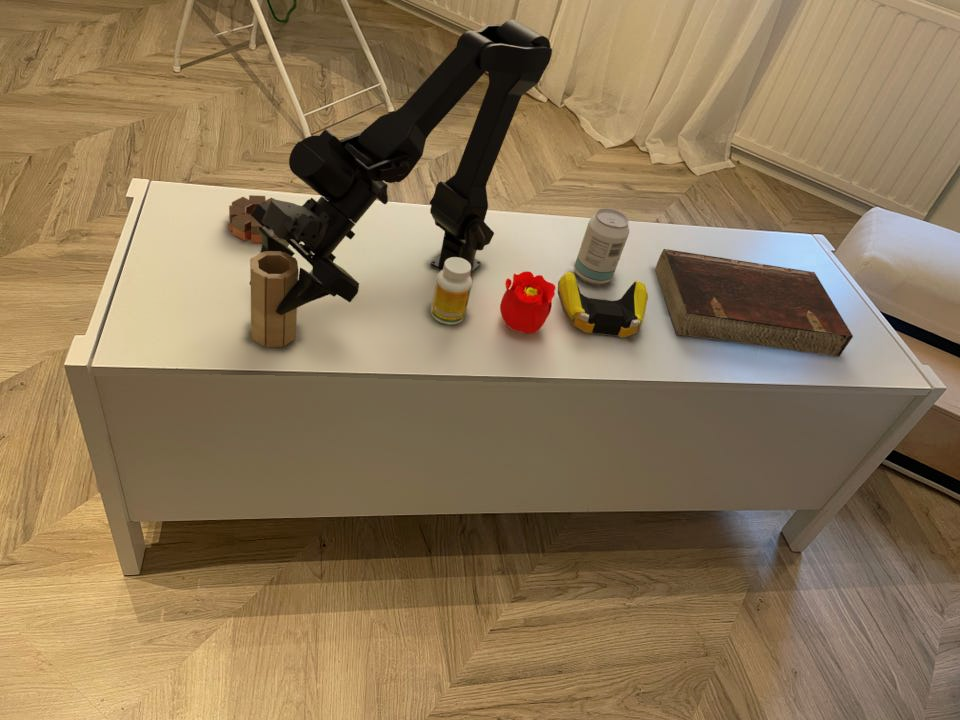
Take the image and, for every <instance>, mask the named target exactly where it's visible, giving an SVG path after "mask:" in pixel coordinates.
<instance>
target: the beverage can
mask: <svg viewBox="0 0 960 720" xmlns="http://www.w3.org/2000/svg"><path fill="white" fill-rule="evenodd" d="M629 223H630V222H629V218H628V217H627V216H626V215H625V214H624V213H623V212H621V211H619V210H616V209H613V208H600V209H598V210H597V211H596V212H595V214H594V215H592V216H591V217H590V218H589V220H588V223H587V226H586V229H585V232H584V235H583V238H582V240H581V244H580V247H579V251H578V252H577V257H576V259H575V263H574V265H573V269H574V272H575V273H576V275H577V276H578V277H579V278H580V279H581V280H582V281H583V282H585V283H587V284H591V285H596V286H597V285H601V284H606V283H609V282H611V281H612V280H613V277H614V275H615V273H616V270H617V267H618V264H619V261H620V259H621V257H622V253H623V252H624V248H625V246H626V243H627V240H628V238H629V235H630V226H629Z"/></svg>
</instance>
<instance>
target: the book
mask: <svg viewBox="0 0 960 720" xmlns="http://www.w3.org/2000/svg"><path fill="white" fill-rule="evenodd" d="M654 271H655V274H656V277H657V280H658V282H659V286H660V289H661V293H662V295H663V298H664V301H665V304H666V307H667V309H668V313H669V316H670V318H671V319H670V320H671V322H672V325H673V328H674V331H675V334H676V335H680V336H687V337H695V338H702V339H710V340H716V341H717V340H718V341H723V342H730V343H737V344H745V345H751V346H757V347H758V346H760V347H766V348H774V349H780V350H781V349H782V350H786V351H787V350H788V351H795V352H802V353H808V354H809V353H810V354H817V355H823V356H831V357H836V358H837V357H838V358H840V357H841V356H842V354H843V352H844V351H845V349H846V348H847V347H848V345H849V343H850V342H851V340H852V339H853V338H854V335H853V334H852V332H851V330H850V328H849V326H848V325H847V324H846V322H845V320H844V319H843V317H842V315H841V313H840V312H839V310H838V309H837V307H836V305H835V304H834V302H833V300H832V299H831V297H830V296H829V294H828V292H827V291H826V289H825V287H824V285H823V284H822V282H821V280H820V278H819V277H818V275H817V273H816V272H815V271H809V270H803V269H797V268H789V267H784V266H778V265H770V264H765V263H758V262H752V261H746V260H745V261H744V260H738V259H732V258H727V257H726V258H725V257H720V256H712V255H706V254H699V253H693V252H687V251H680V250H672V249H668V248H667V249H666V248H663V249H662V251H661V254H660V255H659V258H658V259H657V262H656V265H655V269H654Z"/></svg>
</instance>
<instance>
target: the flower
mask: <svg viewBox="0 0 960 720" xmlns="http://www.w3.org/2000/svg"><path fill="white" fill-rule="evenodd" d="M512 275H513V276H512V279H510V278H509V277H508V278H506V280H505V283H504V285H505V289H506V290H505V291H504V293H503V296H502V299H501V301H500V305H499V310H500V311H499V312H500V315H501V318H502V320H503V322H504V323H505V325H506V326H507V327H508V328H509V329H510V330H512V331H516V332H519V333H522V334H527V335H528V334H529V335H531V334H536V333H537V332H538V331H539V330H540V329H541V328H542V327H543V326H544V324H545V322H546V321H547V319H548V318H549V316H550V314H551V310H552V304H553V298H554V297H555V295H556V293H555V291H556V285H555V284H554V283H552V282H549V281H547V280H546V279H545V278H544V276H543V275H541V274H538V275H534V274H533V273H532V272H531V271H528V270H527V271H526V270H525V271H522V272H520V273H518V274H517V273H513V274H512Z"/></svg>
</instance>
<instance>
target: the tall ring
mask: <svg viewBox="0 0 960 720" xmlns="http://www.w3.org/2000/svg"><path fill="white" fill-rule="evenodd" d="M298 264H299V263H298V260H297V258H296V257H294V256H290V255H289V254H287V253H285V252H281V251H265V253H264V252H261V253H260V252H259V253H257V254H255V255H254V256H252V257H251V258H250V259H249V268H250V269H249V273H250V276H249V277H250V278H249V279H250V281H249V283H250V284H249V286H250V334H251V339H252V341H253V342H256V343H257V344H259V345H261V346H262V347H266V348H282V347H286V346H287V345H288V344H290V343H292V342H293V341H294V340H295V339H296V336H297V316H298V315H297V314H298V313H297V312H298V308H296V309H294V310H291V311H289V312H287V313H285V314H283V315H279V314H277V313H276V309H277V308H278V306H279V304H280V303H281V302H282V300H283V299H284V298H285V296H286V295H287V294H288V293H289V291H290V290H291V289H292V288H293V286H294V285H295V284H296V283H297V281H298V279H299V265H298Z"/></svg>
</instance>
